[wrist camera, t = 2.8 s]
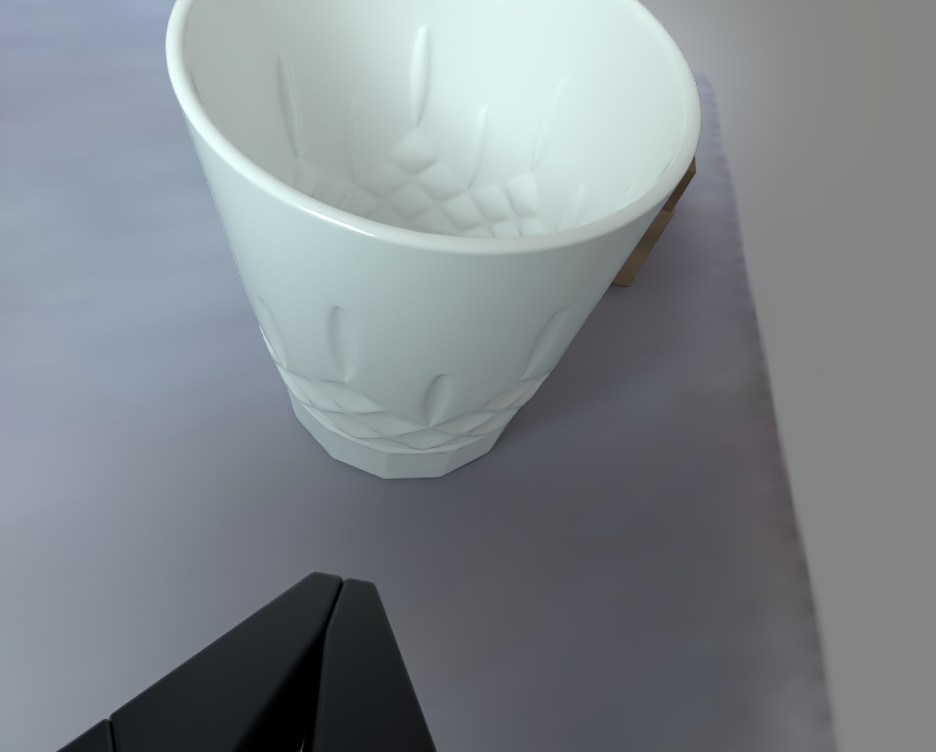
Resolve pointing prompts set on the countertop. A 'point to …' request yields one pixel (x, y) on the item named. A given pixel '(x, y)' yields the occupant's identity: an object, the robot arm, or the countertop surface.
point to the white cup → (428, 196)
